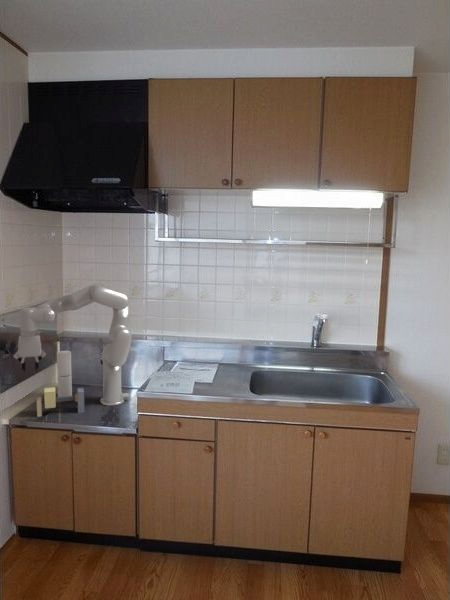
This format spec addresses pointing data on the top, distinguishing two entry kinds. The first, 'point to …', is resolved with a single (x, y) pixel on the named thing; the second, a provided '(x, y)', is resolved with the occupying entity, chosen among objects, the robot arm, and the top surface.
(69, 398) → the grey h-shaped piece
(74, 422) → the top surface
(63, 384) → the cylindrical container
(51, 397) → the pale yellow block
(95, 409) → the top surface
